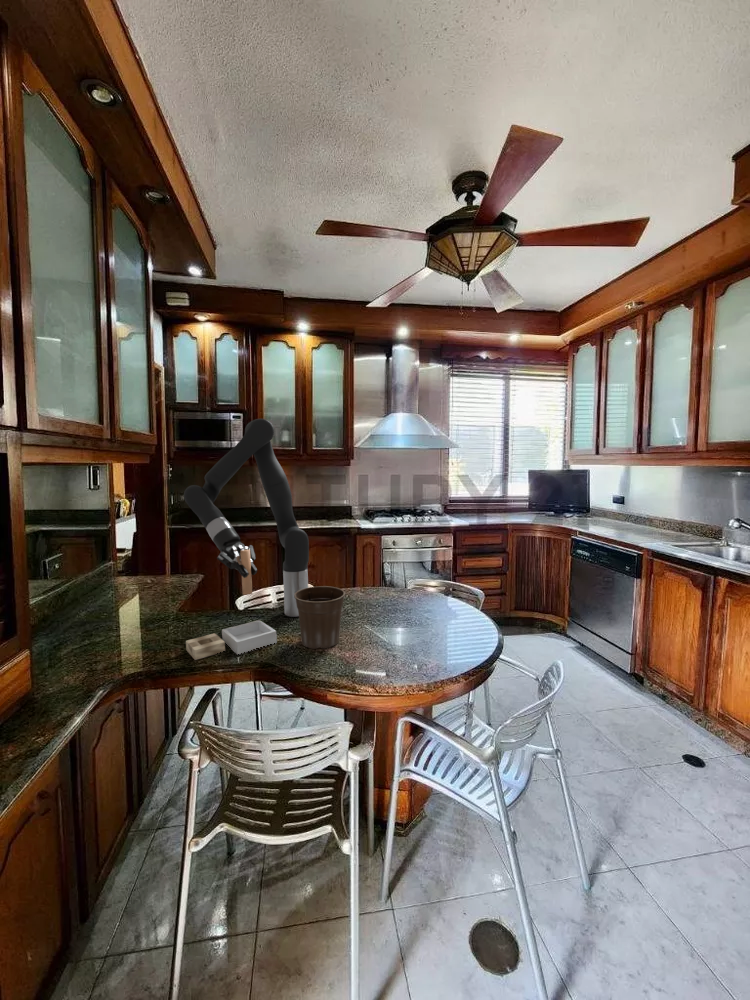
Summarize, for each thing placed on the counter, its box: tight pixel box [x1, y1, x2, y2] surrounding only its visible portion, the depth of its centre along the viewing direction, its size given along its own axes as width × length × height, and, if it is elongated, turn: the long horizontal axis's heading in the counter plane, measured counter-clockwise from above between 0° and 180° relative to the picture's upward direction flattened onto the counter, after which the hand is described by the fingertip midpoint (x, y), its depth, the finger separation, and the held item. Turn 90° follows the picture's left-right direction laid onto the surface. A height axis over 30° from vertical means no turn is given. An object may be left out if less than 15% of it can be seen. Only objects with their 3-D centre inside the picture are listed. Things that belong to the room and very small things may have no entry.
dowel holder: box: [185, 633, 226, 661], centre depth 134 cm, size 9×9×3 cm
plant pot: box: [294, 585, 346, 650], centre depth 139 cm, size 16×16×16 cm
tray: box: [221, 619, 278, 656], centre depth 140 cm, size 13×13×4 cm
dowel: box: [240, 550, 253, 596], centre depth 138 cm, size 3×3×14 cm
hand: (251, 574), depth 137 cm, fingers closed on dowel, 3 cm apart
